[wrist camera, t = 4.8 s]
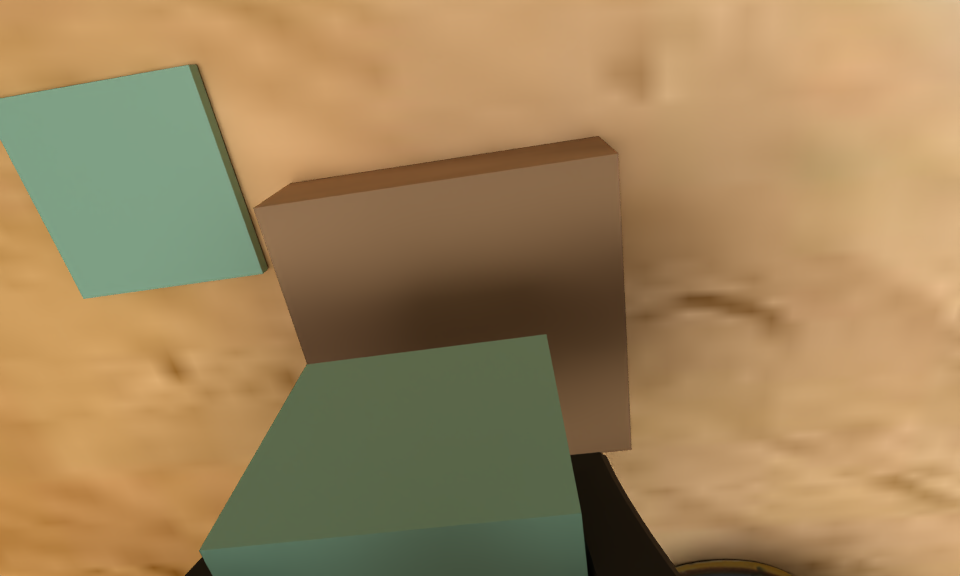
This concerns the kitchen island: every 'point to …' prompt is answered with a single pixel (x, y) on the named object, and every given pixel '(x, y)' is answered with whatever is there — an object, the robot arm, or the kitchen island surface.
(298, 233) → the walnut block
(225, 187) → the teal square tile
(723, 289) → the kitchen island surface
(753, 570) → the apothecary jar
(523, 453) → the teal block
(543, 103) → the kitchen island surface
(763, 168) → the kitchen island surface
